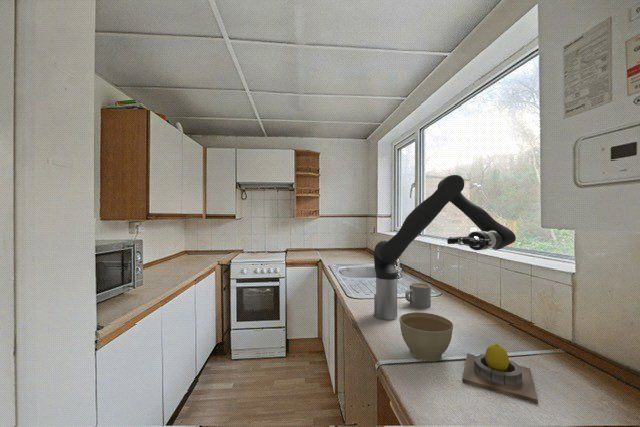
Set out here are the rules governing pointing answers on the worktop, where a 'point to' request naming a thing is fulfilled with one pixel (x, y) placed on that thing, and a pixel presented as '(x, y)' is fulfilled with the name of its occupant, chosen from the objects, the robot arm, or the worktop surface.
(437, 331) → the planter bowl
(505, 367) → the lemon
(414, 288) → the coffee mug
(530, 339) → the worktop surface
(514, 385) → the stand
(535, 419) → the worktop surface
